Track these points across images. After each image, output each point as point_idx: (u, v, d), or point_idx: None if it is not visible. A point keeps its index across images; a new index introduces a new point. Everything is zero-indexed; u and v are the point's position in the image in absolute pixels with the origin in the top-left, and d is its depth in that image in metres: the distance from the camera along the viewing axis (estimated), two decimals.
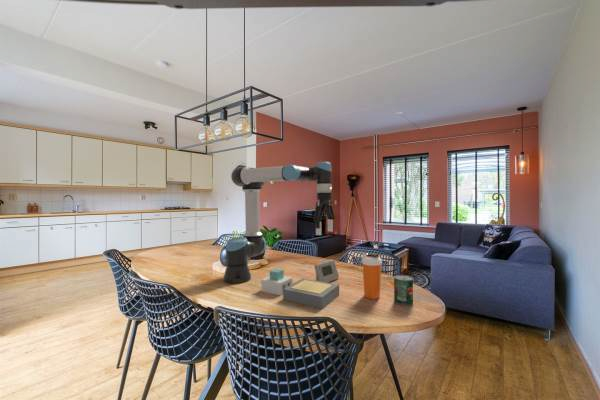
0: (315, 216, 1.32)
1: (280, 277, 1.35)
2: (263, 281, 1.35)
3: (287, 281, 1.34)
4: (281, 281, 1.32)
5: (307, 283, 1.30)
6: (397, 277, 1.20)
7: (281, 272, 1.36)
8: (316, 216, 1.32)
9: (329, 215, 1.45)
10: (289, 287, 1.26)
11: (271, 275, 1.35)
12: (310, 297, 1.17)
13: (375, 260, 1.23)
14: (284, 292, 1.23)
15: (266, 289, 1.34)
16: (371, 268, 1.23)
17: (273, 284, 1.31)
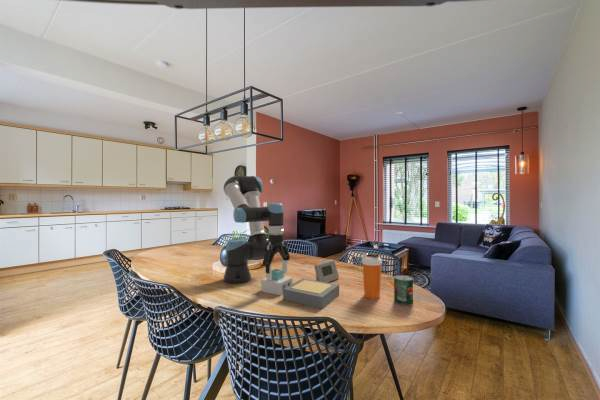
0: (264, 261, 1.28)
1: (280, 277, 1.35)
2: (263, 281, 1.35)
3: (287, 281, 1.34)
4: (281, 281, 1.32)
5: (307, 283, 1.30)
6: (397, 277, 1.20)
7: (281, 272, 1.36)
8: (265, 261, 1.28)
9: (283, 256, 1.41)
10: (289, 287, 1.26)
11: (272, 275, 1.35)
12: (310, 297, 1.17)
13: (375, 260, 1.23)
14: (284, 292, 1.23)
15: (266, 289, 1.34)
16: (371, 268, 1.23)
17: (273, 284, 1.31)
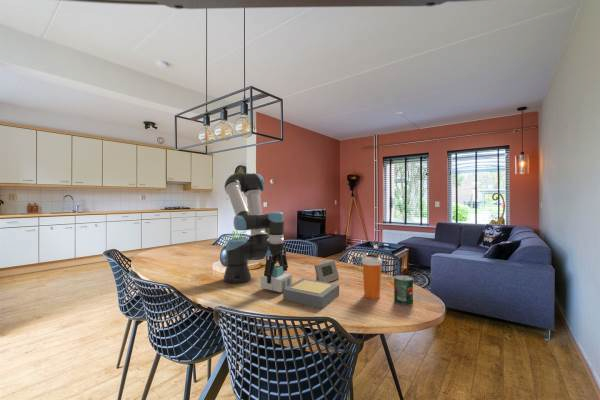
0: (265, 272, 1.30)
1: (279, 274, 1.36)
2: (263, 277, 1.35)
3: (286, 278, 1.35)
4: (281, 278, 1.32)
5: (307, 283, 1.30)
6: (397, 277, 1.20)
7: (280, 269, 1.36)
8: (266, 272, 1.30)
9: None
10: (289, 287, 1.26)
11: None
12: (310, 297, 1.17)
13: (375, 260, 1.23)
14: (284, 292, 1.23)
15: (265, 285, 1.34)
16: (371, 268, 1.23)
17: (273, 281, 1.32)
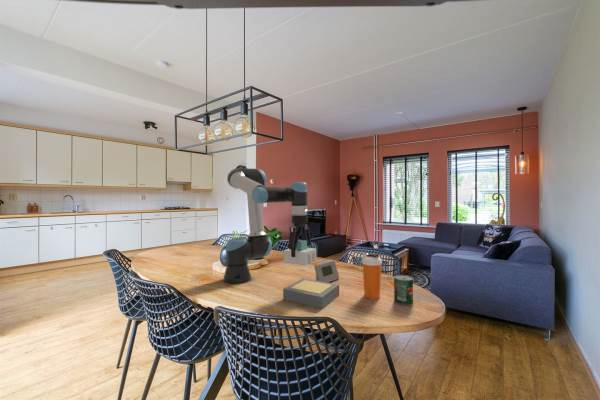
0: (290, 244, 1.22)
1: (304, 247, 1.27)
2: (286, 252, 1.27)
3: (311, 251, 1.26)
4: (305, 251, 1.24)
5: (307, 283, 1.30)
6: (397, 277, 1.20)
7: (305, 242, 1.28)
8: (291, 244, 1.22)
9: (305, 240, 1.33)
10: (289, 287, 1.26)
11: None
12: (310, 297, 1.17)
13: (375, 260, 1.23)
14: (284, 292, 1.23)
15: (289, 260, 1.26)
16: (371, 268, 1.23)
17: (297, 254, 1.24)
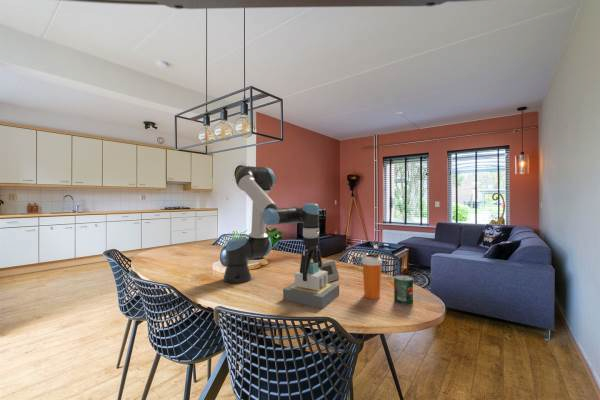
0: (301, 268, 1.19)
1: (315, 270, 1.25)
2: (297, 275, 1.24)
3: (323, 275, 1.24)
4: (317, 275, 1.22)
5: None
6: (397, 277, 1.20)
7: (316, 265, 1.26)
8: (302, 268, 1.19)
9: (316, 262, 1.30)
10: (289, 287, 1.26)
11: None
12: (310, 297, 1.17)
13: (375, 260, 1.23)
14: (284, 292, 1.23)
15: (300, 283, 1.24)
16: (371, 268, 1.23)
17: (309, 278, 1.21)
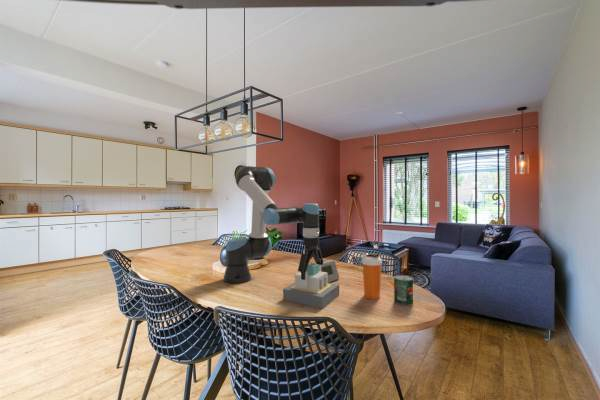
0: (300, 266, 1.18)
1: (315, 272, 1.25)
2: (297, 276, 1.25)
3: (323, 276, 1.24)
4: (317, 276, 1.22)
5: None
6: (397, 277, 1.20)
7: (316, 266, 1.26)
8: (301, 266, 1.18)
9: (317, 260, 1.31)
10: (289, 287, 1.26)
11: None
12: (310, 297, 1.17)
13: (375, 260, 1.23)
14: (284, 292, 1.23)
15: (300, 285, 1.24)
16: (371, 268, 1.23)
17: (309, 279, 1.21)
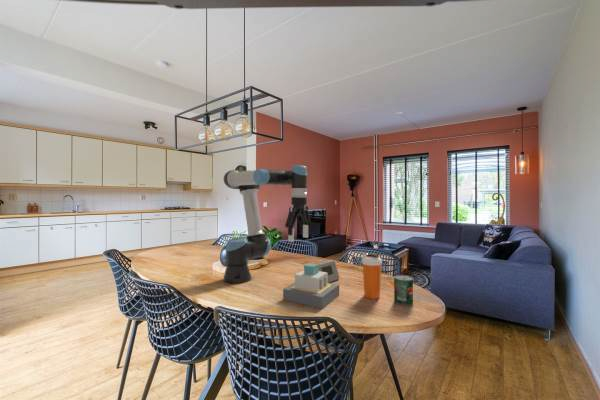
0: (287, 222, 1.27)
1: (315, 272, 1.25)
2: (297, 276, 1.25)
3: (323, 276, 1.24)
4: (317, 276, 1.22)
5: None
6: (397, 277, 1.20)
7: (316, 266, 1.26)
8: (288, 222, 1.26)
9: (304, 220, 1.39)
10: (289, 287, 1.26)
11: (306, 269, 1.25)
12: (310, 297, 1.17)
13: (375, 260, 1.23)
14: (284, 292, 1.23)
15: (300, 285, 1.24)
16: (371, 268, 1.23)
17: (309, 279, 1.21)
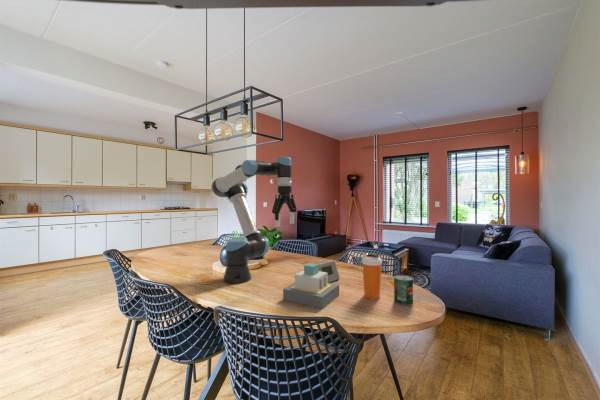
0: (274, 208, 1.39)
1: (315, 272, 1.25)
2: (297, 276, 1.25)
3: (323, 276, 1.24)
4: (317, 276, 1.22)
5: None
6: (397, 277, 1.20)
7: (316, 266, 1.26)
8: (274, 208, 1.38)
9: (290, 208, 1.51)
10: (289, 287, 1.26)
11: (306, 269, 1.25)
12: (310, 297, 1.17)
13: (375, 260, 1.23)
14: (284, 292, 1.23)
15: (300, 285, 1.24)
16: (371, 268, 1.23)
17: (309, 279, 1.21)
